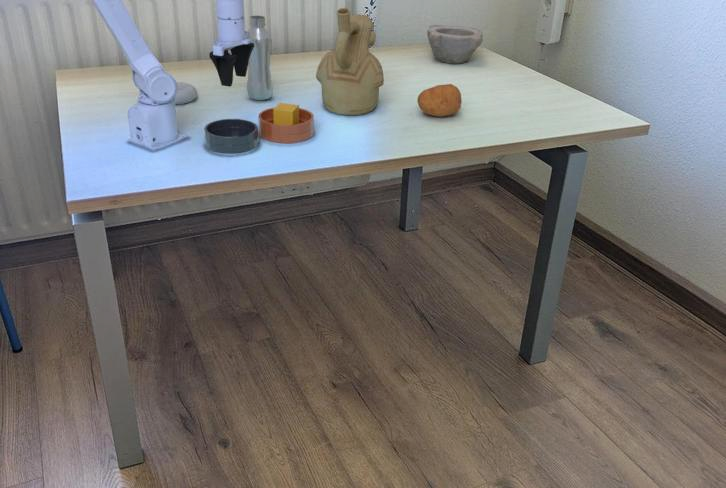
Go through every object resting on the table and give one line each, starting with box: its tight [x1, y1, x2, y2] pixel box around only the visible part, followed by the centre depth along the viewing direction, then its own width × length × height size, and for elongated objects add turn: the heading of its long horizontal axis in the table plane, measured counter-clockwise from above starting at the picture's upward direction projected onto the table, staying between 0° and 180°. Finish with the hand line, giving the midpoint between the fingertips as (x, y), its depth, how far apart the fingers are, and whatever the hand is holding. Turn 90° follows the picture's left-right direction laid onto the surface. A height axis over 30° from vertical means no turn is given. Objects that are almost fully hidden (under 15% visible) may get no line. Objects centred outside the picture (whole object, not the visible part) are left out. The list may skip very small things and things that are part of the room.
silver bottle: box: [246, 15, 274, 101], centre depth 164 cm, size 6×7×20 cm
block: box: [273, 102, 300, 125], centre depth 147 cm, size 4×4×6 cm
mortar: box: [427, 24, 484, 65], centre depth 206 cm, size 17×17×9 cm
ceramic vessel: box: [315, 7, 385, 116], centre depth 160 cm, size 17×20×25 cm
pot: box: [203, 118, 259, 155], centre depth 141 cm, size 11×11×4 cm
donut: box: [174, 81, 198, 105], centre depth 165 cm, size 10×4×10 cm
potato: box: [416, 83, 462, 118], centre depth 162 cm, size 9×11×8 cm
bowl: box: [257, 107, 315, 144], centre depth 147 cm, size 12×12×4 cm
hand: (234, 80), depth 147 cm, fingers open, 7 cm apart
